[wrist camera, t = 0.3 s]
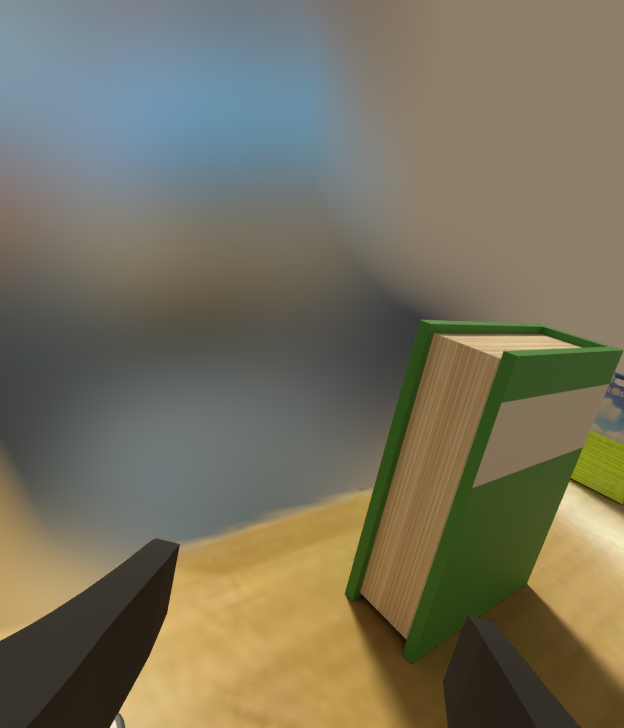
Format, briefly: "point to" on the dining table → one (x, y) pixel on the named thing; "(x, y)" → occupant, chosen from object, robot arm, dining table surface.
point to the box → (605, 447)
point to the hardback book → (474, 470)
